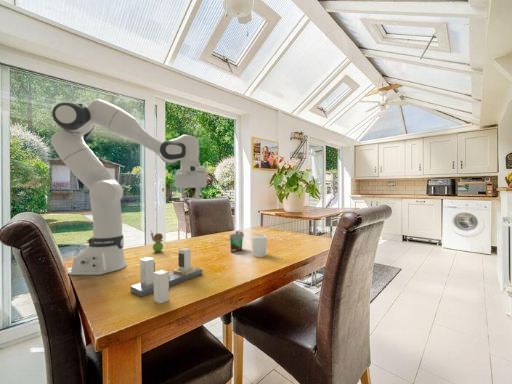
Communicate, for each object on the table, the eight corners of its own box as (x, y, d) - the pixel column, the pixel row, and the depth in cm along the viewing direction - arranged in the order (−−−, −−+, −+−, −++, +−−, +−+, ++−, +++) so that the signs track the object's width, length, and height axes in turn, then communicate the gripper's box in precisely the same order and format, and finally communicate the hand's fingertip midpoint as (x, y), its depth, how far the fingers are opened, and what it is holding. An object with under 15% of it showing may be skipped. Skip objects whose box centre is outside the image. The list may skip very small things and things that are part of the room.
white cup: (258, 252, 133) (258, 234, 133) (270, 255, 128) (270, 236, 128) (249, 255, 127) (248, 236, 127) (260, 258, 122) (260, 238, 122)
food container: (240, 253, 131) (240, 235, 131) (229, 253, 133) (229, 234, 132) (246, 248, 143) (246, 231, 143) (236, 247, 145) (236, 230, 145)
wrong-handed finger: (160, 303, 75) (160, 274, 74) (153, 300, 77) (153, 272, 76) (170, 299, 77) (170, 271, 77) (163, 296, 79) (163, 269, 79)
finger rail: (141, 297, 79) (141, 263, 79) (130, 291, 83) (130, 259, 83) (202, 274, 100) (202, 247, 100) (191, 270, 104) (191, 245, 104)
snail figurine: (151, 251, 137) (150, 229, 137) (163, 250, 139) (163, 229, 139) (150, 253, 132) (150, 231, 131) (163, 252, 134) (163, 230, 134)
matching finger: (183, 273, 95) (183, 250, 95) (177, 272, 97) (177, 249, 97) (190, 271, 98) (190, 249, 97) (185, 269, 100) (185, 247, 99)
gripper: (171, 169, 122) (171, 196, 122) (199, 167, 110) (199, 197, 110) (181, 170, 127) (181, 196, 127) (209, 168, 115) (209, 197, 115)
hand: (190, 197), depth 119 cm, fingers open, 8 cm apart
